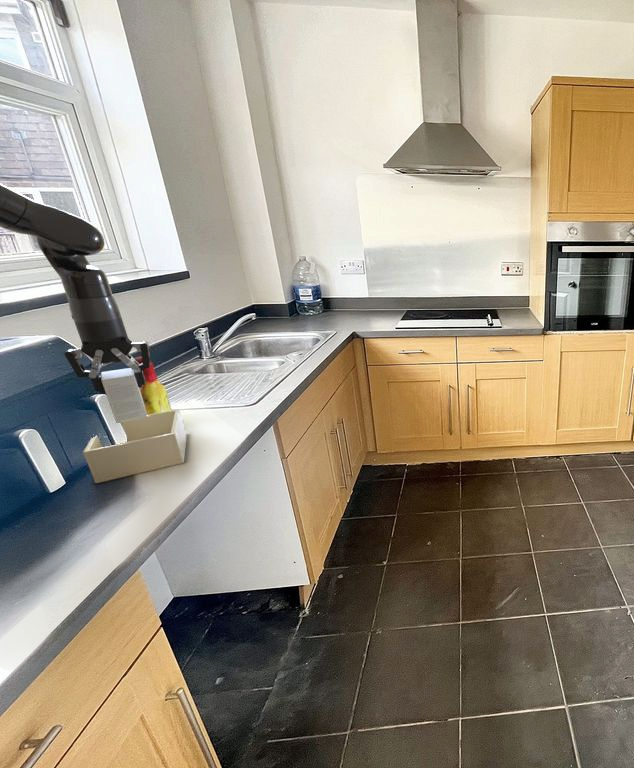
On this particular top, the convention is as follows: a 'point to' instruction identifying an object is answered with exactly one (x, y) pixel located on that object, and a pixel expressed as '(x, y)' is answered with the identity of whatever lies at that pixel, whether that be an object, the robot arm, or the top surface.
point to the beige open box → (139, 447)
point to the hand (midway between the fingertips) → (122, 389)
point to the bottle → (153, 392)
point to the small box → (123, 394)
